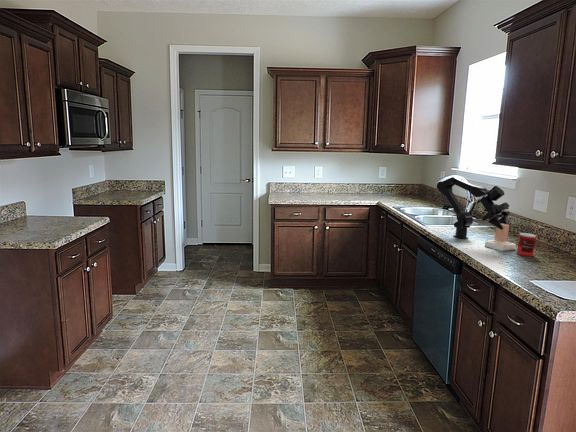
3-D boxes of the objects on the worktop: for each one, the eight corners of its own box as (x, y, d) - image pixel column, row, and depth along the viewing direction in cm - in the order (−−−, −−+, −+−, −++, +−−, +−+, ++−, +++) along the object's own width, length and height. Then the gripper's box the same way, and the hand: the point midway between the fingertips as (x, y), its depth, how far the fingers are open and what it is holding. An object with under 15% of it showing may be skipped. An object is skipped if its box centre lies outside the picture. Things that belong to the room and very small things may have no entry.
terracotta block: (494, 240, 234) (496, 223, 232) (499, 239, 237) (501, 223, 235) (501, 242, 231) (504, 225, 229) (506, 241, 233) (509, 224, 231)
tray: (484, 246, 236) (485, 241, 235) (496, 244, 242) (497, 239, 241) (503, 251, 227) (504, 245, 226) (514, 249, 232) (515, 244, 232)
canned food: (524, 252, 227) (527, 232, 225) (537, 256, 219) (540, 236, 217) (513, 253, 224) (516, 233, 222) (525, 257, 217) (528, 236, 215)
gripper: (490, 198, 227) (506, 222, 220) (510, 196, 237) (526, 219, 230) (475, 209, 236) (490, 233, 228) (495, 208, 245) (510, 230, 238)
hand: (504, 229), depth 231 cm, fingers closed on terracotta block, 4 cm apart
